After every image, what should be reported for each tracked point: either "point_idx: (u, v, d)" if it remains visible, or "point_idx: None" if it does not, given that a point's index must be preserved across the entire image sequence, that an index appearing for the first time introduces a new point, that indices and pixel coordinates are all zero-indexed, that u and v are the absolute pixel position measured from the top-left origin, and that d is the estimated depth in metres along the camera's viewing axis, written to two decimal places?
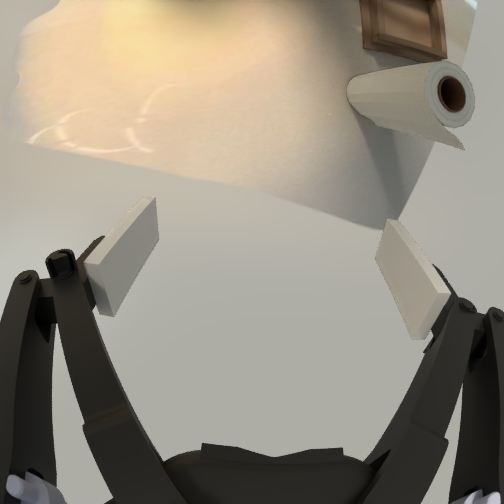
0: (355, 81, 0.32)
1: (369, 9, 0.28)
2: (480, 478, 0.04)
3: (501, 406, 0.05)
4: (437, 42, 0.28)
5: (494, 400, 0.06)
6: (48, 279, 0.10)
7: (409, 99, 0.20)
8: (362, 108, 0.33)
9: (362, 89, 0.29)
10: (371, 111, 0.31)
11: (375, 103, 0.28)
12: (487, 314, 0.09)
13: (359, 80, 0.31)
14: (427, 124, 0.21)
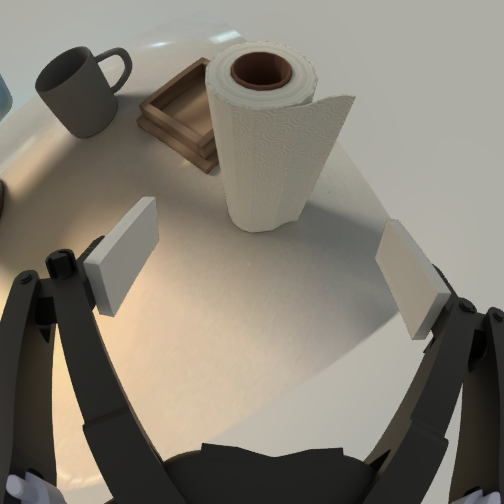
0: (228, 208, 0.30)
1: (173, 137, 0.35)
2: (480, 478, 0.04)
3: (501, 406, 0.05)
4: None
5: (494, 400, 0.06)
6: (48, 279, 0.10)
7: (245, 141, 0.15)
8: (262, 222, 0.30)
9: (234, 205, 0.27)
10: (268, 213, 0.27)
11: (252, 199, 0.24)
12: (487, 314, 0.09)
13: (227, 202, 0.29)
14: (295, 136, 0.15)
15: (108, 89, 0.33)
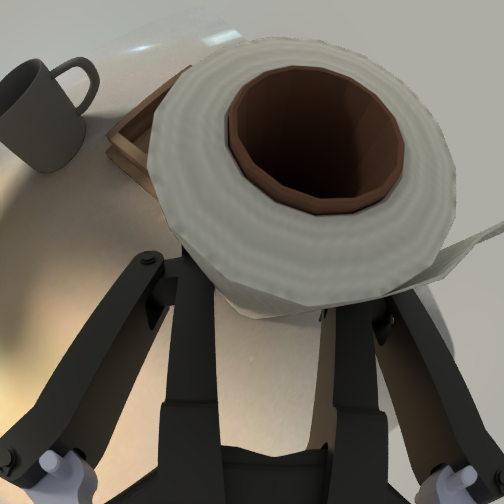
0: None
1: (150, 178, 0.26)
2: (442, 456, 0.05)
3: (434, 380, 0.06)
4: None
5: (423, 375, 0.07)
6: (169, 260, 0.11)
7: (262, 307, 0.07)
8: None
9: (233, 306, 0.18)
10: None
11: None
12: None
13: None
14: None
15: (70, 111, 0.25)
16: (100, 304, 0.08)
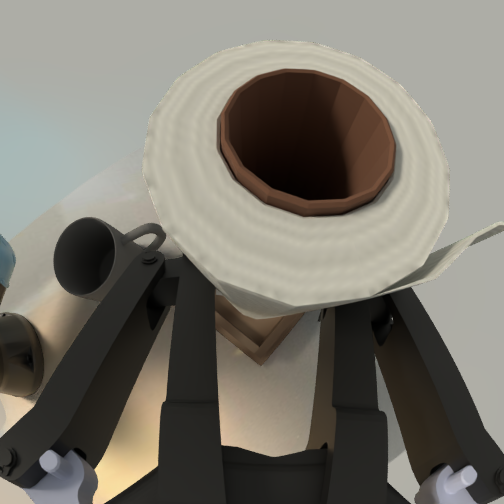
0: None
1: None
2: (441, 456, 0.05)
3: (434, 380, 0.06)
4: None
5: (422, 375, 0.07)
6: (170, 260, 0.11)
7: (258, 307, 0.07)
8: None
9: None
10: None
11: None
12: None
13: None
14: None
15: None
16: (101, 304, 0.08)
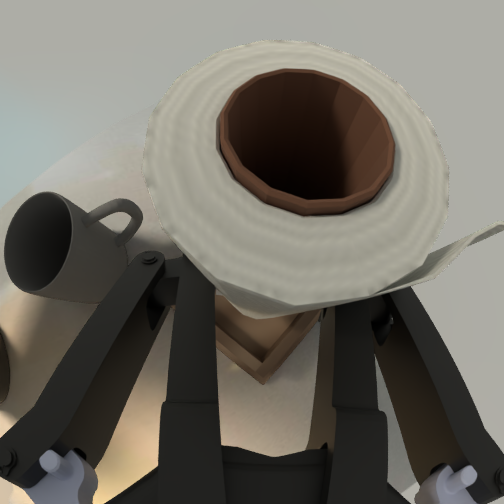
0: None
1: None
2: (441, 456, 0.05)
3: (434, 380, 0.06)
4: None
5: (422, 375, 0.07)
6: (170, 260, 0.11)
7: (257, 307, 0.07)
8: None
9: None
10: None
11: (263, 317, 0.15)
12: None
13: None
14: None
15: (112, 250, 0.27)
16: (101, 304, 0.08)
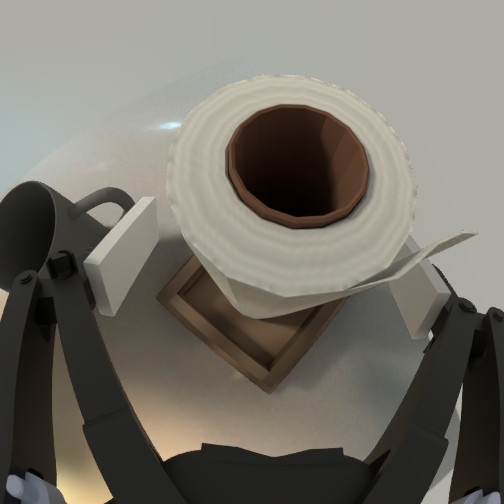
0: None
1: None
2: (480, 478, 0.04)
3: (501, 406, 0.05)
4: None
5: (494, 400, 0.06)
6: (48, 279, 0.10)
7: (256, 302, 0.08)
8: None
9: (235, 306, 0.20)
10: None
11: None
12: (487, 314, 0.09)
13: None
14: (352, 293, 0.08)
15: None
16: None
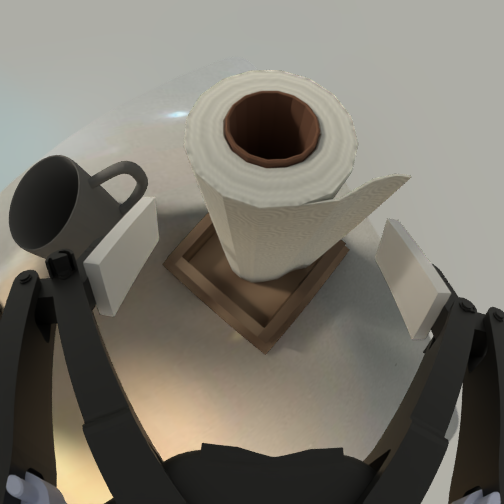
0: None
1: None
2: (480, 478, 0.04)
3: (501, 406, 0.05)
4: None
5: (494, 400, 0.06)
6: (48, 279, 0.10)
7: (246, 231, 0.11)
8: (265, 277, 0.26)
9: (233, 264, 0.23)
10: (273, 273, 0.23)
11: (255, 267, 0.20)
12: (487, 314, 0.09)
13: (225, 254, 0.25)
14: (318, 225, 0.11)
15: (116, 216, 0.27)
16: None
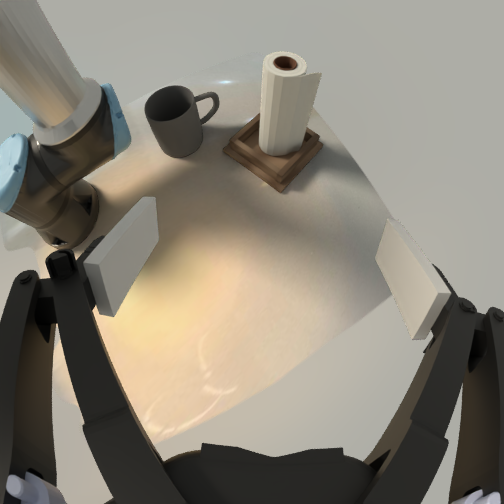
0: (260, 139, 0.50)
1: (254, 165, 0.53)
2: (480, 478, 0.04)
3: (501, 406, 0.05)
4: None
5: (494, 400, 0.06)
6: (48, 279, 0.10)
7: (278, 90, 0.35)
8: (280, 145, 0.50)
9: (266, 133, 0.47)
10: (284, 138, 0.47)
11: (277, 125, 0.43)
12: (487, 314, 0.09)
13: (260, 134, 0.49)
14: (298, 89, 0.35)
15: (200, 122, 0.51)
16: None
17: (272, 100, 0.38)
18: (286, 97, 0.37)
